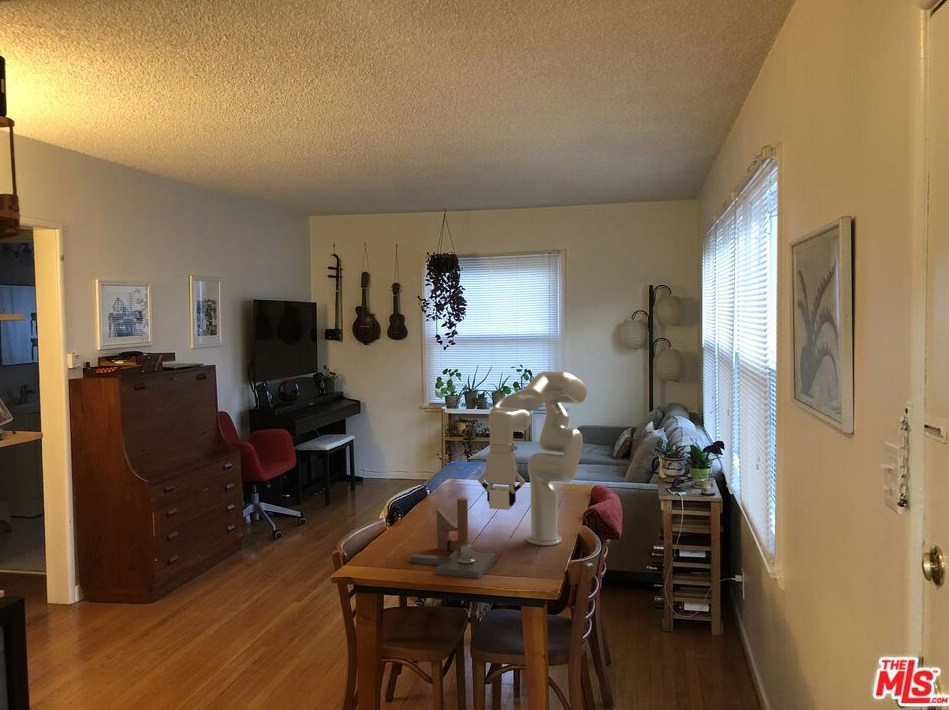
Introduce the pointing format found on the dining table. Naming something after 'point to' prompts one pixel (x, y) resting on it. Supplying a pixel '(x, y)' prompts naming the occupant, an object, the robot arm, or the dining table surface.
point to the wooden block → (453, 527)
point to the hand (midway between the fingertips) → (501, 503)
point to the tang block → (459, 562)
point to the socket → (499, 497)
